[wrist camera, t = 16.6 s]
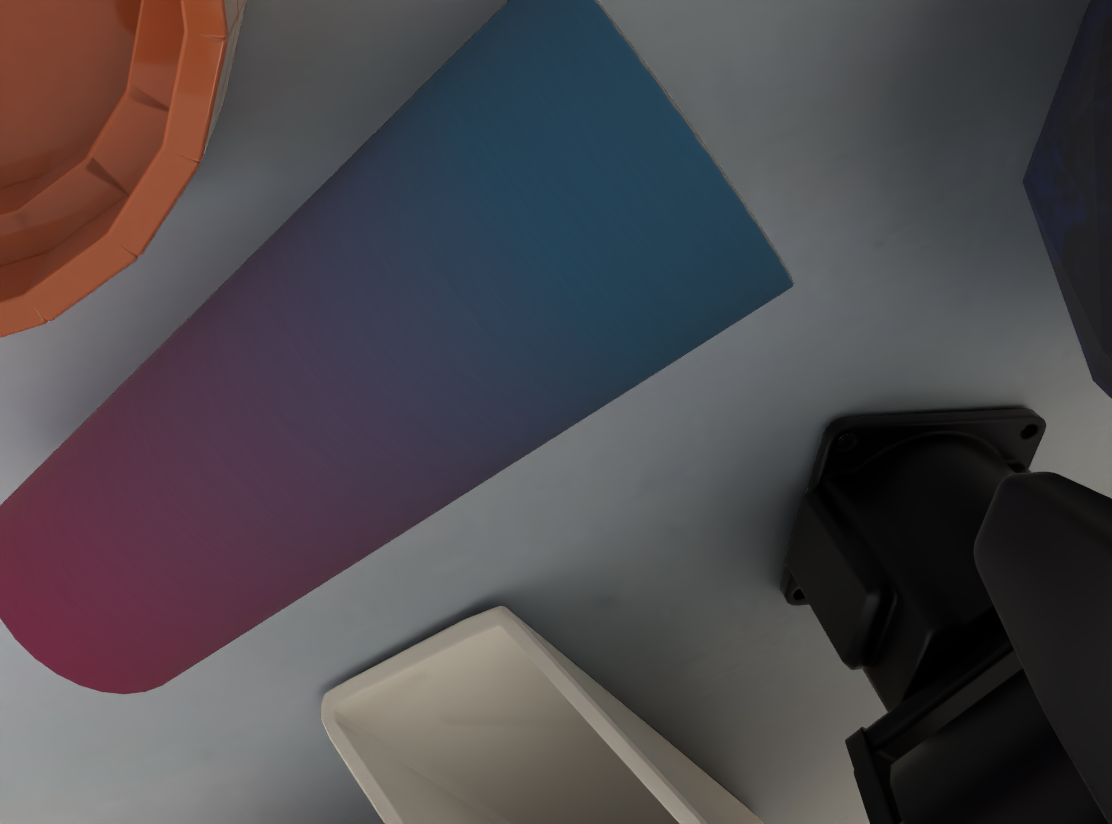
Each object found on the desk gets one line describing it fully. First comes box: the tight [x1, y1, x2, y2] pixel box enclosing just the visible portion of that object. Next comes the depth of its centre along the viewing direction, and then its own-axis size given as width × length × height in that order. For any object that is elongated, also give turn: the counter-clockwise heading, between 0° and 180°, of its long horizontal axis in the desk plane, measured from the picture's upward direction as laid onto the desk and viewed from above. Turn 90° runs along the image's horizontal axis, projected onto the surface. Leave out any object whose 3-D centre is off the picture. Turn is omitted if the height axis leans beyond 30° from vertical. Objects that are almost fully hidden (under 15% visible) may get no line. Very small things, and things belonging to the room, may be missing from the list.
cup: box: [0, 0, 794, 694], centre depth 18 cm, size 7×7×15 cm
